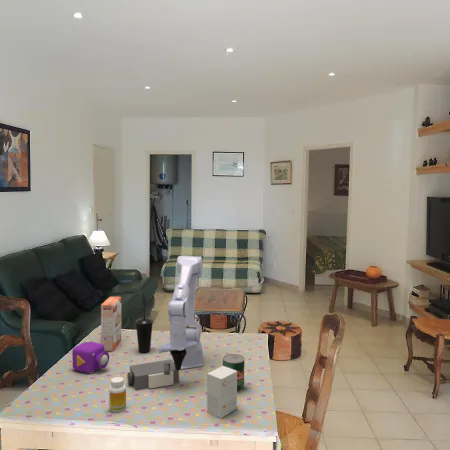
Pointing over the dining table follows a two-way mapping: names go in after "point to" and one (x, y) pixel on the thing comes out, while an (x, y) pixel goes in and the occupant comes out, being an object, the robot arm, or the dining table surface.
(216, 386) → the small box
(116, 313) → the cracker box
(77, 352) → the toy camera
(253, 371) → the dining table surface
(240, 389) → the canned tomato
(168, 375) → the side door
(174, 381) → the camera housing
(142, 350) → the drinking cup
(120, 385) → the supplement bottle
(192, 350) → the robot arm
